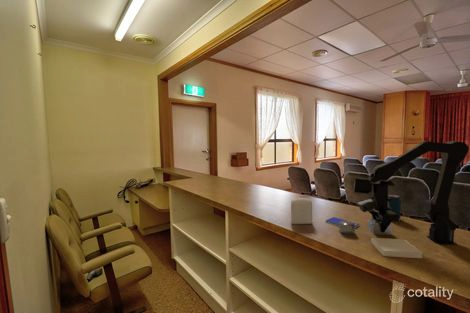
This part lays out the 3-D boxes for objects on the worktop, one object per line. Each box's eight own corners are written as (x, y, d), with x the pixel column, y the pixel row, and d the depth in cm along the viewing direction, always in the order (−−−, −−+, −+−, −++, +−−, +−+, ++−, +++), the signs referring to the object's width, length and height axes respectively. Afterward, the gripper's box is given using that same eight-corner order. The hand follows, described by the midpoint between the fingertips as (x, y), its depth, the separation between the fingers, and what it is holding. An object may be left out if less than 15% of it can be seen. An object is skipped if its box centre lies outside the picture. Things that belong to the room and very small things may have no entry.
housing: (385, 230, 98) (385, 218, 98) (391, 235, 94) (391, 222, 93) (368, 229, 100) (368, 217, 99) (373, 234, 95) (373, 221, 94)
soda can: (399, 217, 113) (400, 194, 112) (401, 222, 107) (402, 197, 106) (383, 215, 117) (384, 193, 116) (384, 219, 111) (385, 196, 110)
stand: (404, 244, 85) (404, 239, 85) (422, 258, 75) (422, 252, 75) (370, 242, 87) (371, 237, 87) (383, 256, 77) (384, 250, 77)
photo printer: (292, 224, 106) (292, 199, 105) (290, 221, 111) (290, 197, 110) (313, 224, 106) (313, 199, 105) (310, 221, 111) (310, 197, 110)
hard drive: (359, 223, 104) (334, 216, 114) (350, 228, 99) (325, 220, 109) (359, 227, 104) (334, 219, 114) (350, 231, 99) (325, 223, 109)
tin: (350, 229, 99) (350, 220, 99) (357, 235, 94) (357, 226, 93) (337, 229, 100) (337, 221, 100) (342, 235, 94) (342, 226, 94)
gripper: (352, 189, 106) (351, 221, 107) (370, 200, 87) (368, 238, 89) (377, 190, 104) (376, 222, 105) (401, 201, 86) (399, 239, 87)
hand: (379, 229), depth 96 cm, fingers closed on housing, 5 cm apart
